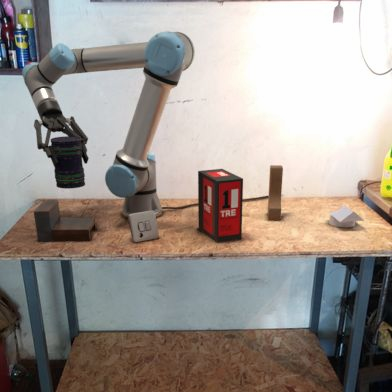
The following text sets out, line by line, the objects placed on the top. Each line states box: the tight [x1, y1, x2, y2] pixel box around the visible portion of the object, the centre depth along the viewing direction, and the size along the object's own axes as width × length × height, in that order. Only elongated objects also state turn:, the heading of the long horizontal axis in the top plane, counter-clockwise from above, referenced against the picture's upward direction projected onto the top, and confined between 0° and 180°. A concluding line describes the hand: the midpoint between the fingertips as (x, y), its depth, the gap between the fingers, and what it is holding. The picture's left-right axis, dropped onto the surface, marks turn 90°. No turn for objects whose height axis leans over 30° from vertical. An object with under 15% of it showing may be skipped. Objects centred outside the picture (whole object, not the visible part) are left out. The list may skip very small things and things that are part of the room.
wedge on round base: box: [329, 204, 365, 228], centre depth 203 cm, size 9×7×13 cm
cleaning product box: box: [197, 168, 244, 244], centre depth 193 cm, size 16×9×20 cm, turn 22°
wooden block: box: [267, 164, 284, 221], centre depth 211 cm, size 9×4×18 cm, turn 176°
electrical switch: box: [127, 210, 160, 243], centre depth 192 cm, size 9×5×9 cm, turn 121°
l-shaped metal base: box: [33, 199, 97, 242], centre depth 196 cm, size 18×14×10 cm
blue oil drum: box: [50, 135, 86, 190], centre depth 190 cm, size 10×10×15 cm
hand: (71, 163), depth 188 cm, fingers closed on blue oil drum, 10 cm apart
